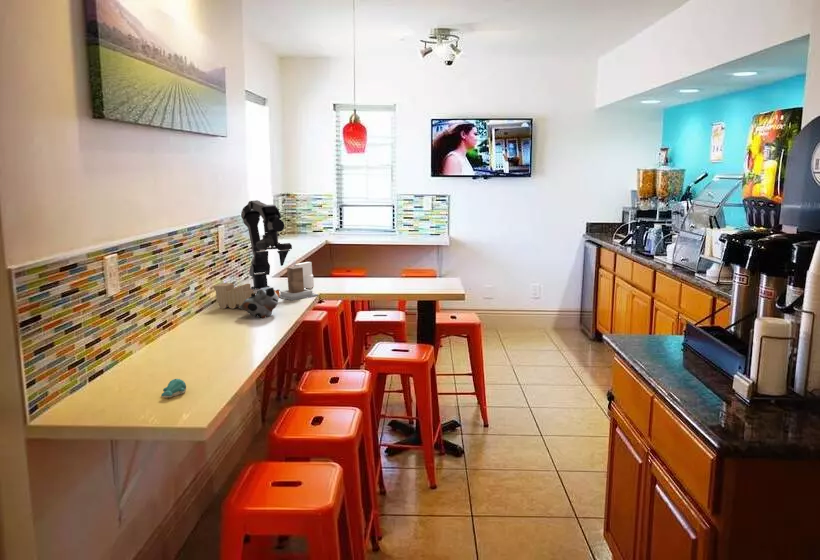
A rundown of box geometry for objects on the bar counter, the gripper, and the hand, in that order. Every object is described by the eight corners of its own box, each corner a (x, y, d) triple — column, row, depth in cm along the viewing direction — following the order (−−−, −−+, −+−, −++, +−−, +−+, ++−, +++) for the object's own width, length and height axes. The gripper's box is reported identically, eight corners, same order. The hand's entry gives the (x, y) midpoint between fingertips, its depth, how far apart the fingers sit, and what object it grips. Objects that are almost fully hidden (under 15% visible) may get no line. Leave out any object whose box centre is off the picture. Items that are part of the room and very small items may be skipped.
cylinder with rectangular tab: (304, 285, 317) (303, 261, 315) (317, 286, 312) (316, 262, 310) (291, 288, 310) (289, 263, 308) (304, 289, 305) (303, 265, 303)
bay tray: (275, 296, 290) (274, 291, 290) (301, 292, 300) (301, 286, 299) (291, 300, 280) (291, 295, 280) (318, 295, 289) (317, 290, 289)
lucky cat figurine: (252, 311, 261) (267, 280, 260) (275, 324, 257) (290, 293, 257) (232, 308, 246) (247, 275, 246) (256, 322, 243) (272, 289, 242)
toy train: (249, 310, 263) (247, 286, 262) (214, 308, 269) (213, 285, 267) (257, 307, 268) (255, 283, 267) (222, 305, 274) (221, 282, 272)
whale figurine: (192, 391, 167) (190, 377, 166) (176, 401, 160) (174, 386, 159) (172, 390, 168) (170, 376, 167) (155, 399, 161) (153, 385, 160)
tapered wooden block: (288, 295, 290) (287, 267, 288) (298, 293, 293) (296, 266, 291) (294, 296, 286) (292, 268, 284) (304, 294, 289) (302, 267, 287)
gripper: (243, 234, 291) (246, 268, 292) (275, 232, 282) (278, 267, 283) (259, 232, 300) (263, 265, 302) (291, 230, 292) (294, 264, 293)
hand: (274, 266), depth 295 cm, fingers open, 9 cm apart
